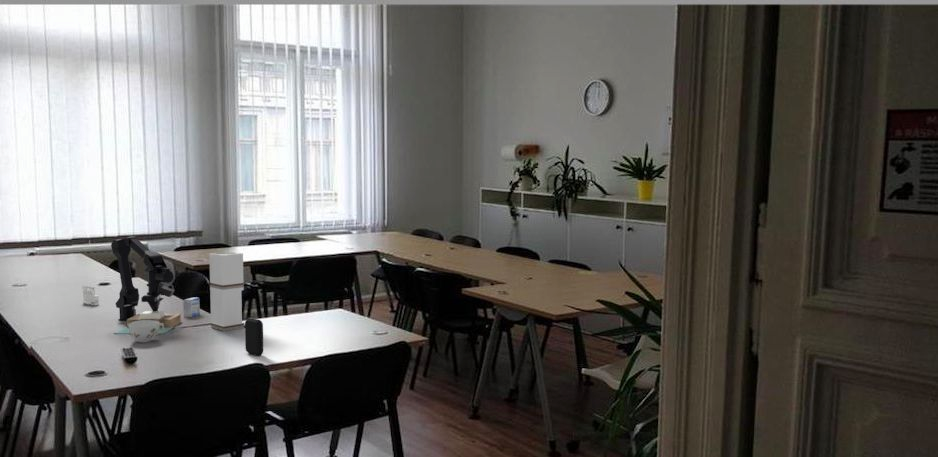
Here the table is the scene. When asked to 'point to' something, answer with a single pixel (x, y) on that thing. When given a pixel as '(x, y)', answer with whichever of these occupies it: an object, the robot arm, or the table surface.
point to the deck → (160, 320)
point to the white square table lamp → (226, 290)
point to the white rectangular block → (151, 314)
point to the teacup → (144, 330)
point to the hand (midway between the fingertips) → (155, 313)
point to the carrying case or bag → (254, 336)
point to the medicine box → (191, 307)
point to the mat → (127, 331)
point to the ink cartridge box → (90, 296)
